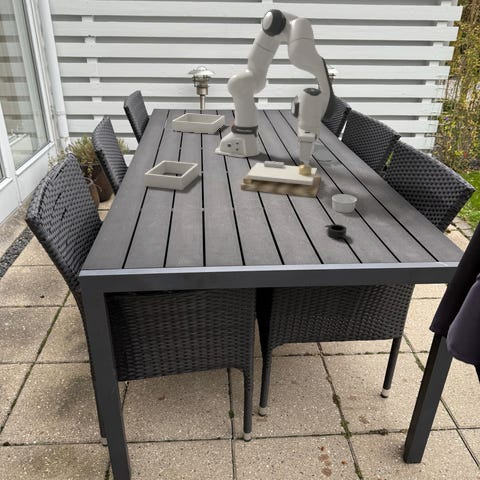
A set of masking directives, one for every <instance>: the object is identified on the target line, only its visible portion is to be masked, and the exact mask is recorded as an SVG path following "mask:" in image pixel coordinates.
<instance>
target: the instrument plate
mask: <svg viewBox="0 0 480 480" xmlns="http://www.w3.org/2000/svg"><path fill="white" fill-rule="evenodd" d="M253 166H254V167H253ZM253 166H252V167H253V168H252V167H251V168H252V170H251V169H250V170H251V171H250V170H249V171H250V172H249V171H248V172H249V173H248V172H247V173H248V175H247V174H246V175H247V179H255V180H265V181H275V182H285V183H295V184H305V185H312V184H313V181H314V178H315V175H317V172H318V168H317V167H312V166H311V165H310V164H309V166H308V167H307V168H306V167H304V164H300V165H299V166H296V165H286V164H285V162H283V161H282V162H281V161H271V160H270V161H269V160H265V161H264V162H256V163H255V164H254V165H253Z"/></svg>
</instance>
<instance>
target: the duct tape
mask: <svg viewBox="0 0 480 480" xmlns="http://www.w3.org/2000/svg"><path fill="white" fill-rule="evenodd" d="M323 228H324V229H326V230H327V233H326V234H327V237H328V238H330V239H332V240H344V239H345V240H351V238H350V237H348V236H346V235H347V227H346V226H344V225H342V224H337V223H335V224H334V223H333V224H330V225H329V224H327V225H324V226H323Z"/></svg>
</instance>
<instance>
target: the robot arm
mask: <svg viewBox="0 0 480 480" xmlns="http://www.w3.org/2000/svg"><path fill="white" fill-rule="evenodd" d="M282 42H285V43H286V44H287V54H288V60H289V62H290V63H291V64H292V65H293V67H295V68H296V69H298V70H301V71H304V72H307V73H310V74H311V75H313V76H314V77H315V78H316V79H317V83H318V85H319V86H318V87H319V88H315V87H306V88H304V89H303V90H302V91H301V94H297V95H295V97H293V98H292V99H291V106H290V107H291V108H290V109H291V110H290V113H291V115H292V116H293V117H294V118H295V119H296V120H299V121H298V123H297V126H298V127H297V141H298V145H299V146H298V157H299V161H300V162H303V165H304V167H306V168H307V167H308V166H309V165H310V159H311V157H312V155H313V153H314V150H315V143H316V142H317V140H318V139H320V137H321V130H322V129H321V128H322V121H327V122H328V121H330V120H332V119H333V118H334V117H335V116H336V115H337V114H338V111H339V105H338V99H337V98H336V95H335V92H334V88H333V85H332V82H331V77H330V74H329V70H328V67H327V63H326V61H325V58H324V57H323V56H321V55H320V54H319V52H318V51H317V49H316V42H315V35H314V30H313V27H312V24H311V22H310V21H309V19H307V18H305V17H299V16H298V15H296V14H294V13H289V12H286V11H281V10H280V9H276V8H275V9H274V8H273V9H269V10H268V11H267V12H266V13H265V14H264V15H263V17H262V22H261V28H260V30H259V31H258V33H257V35H256V36H255V38H254V41H253V43H252V45H251V47H250V49H249V51H248V53H247V65H246V69H245V70H244V71H243V72H238V73H236V74H234V75H233V76H231V77H230V78H228V81H227V91H228V93H229V94H230V95H231V97H232V100H233V104H234V115H235V116H234V123H232V124H231V126H230V132H229V133H227V134H226V135H225V136H223V138H221V140H220V142H219V146H218V147H216V148H215V151H214V153H215V154H216V155H221V156H227V155H228V157H235V158H246V157H254V156H258V155H259V154H260V149H259V140H258V136H259V124H258V123H259V122H258V119H259V118H258V117H259V110H258V109H259V108H258V107H257V105H256V102H255V97H254V96H255V95H257V94H259V93H260V92H262V91H263V90H265V88H266V85H267V75H268V71H269V68H270V65H271V64H272V61H273V59H274V57H275V55H276V54H277V51H278V49H279V47H280V45H281V44H282Z"/></svg>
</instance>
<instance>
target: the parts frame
mask: <svg viewBox="0 0 480 480" xmlns="http://www.w3.org/2000/svg"><path fill="white" fill-rule="evenodd" d="M199 169H200V168H199V163H193V162H192V163H191V162H183V161H173V160H172V161H171V160H162V161H161V162H160V163H158V164H156V165H154V167H152V168H151V169H149V170H148V171H147V172H145V173H144V174H143V176H144V177H143V178H144V187H150V188H151V187H153V188H161V189H171V190H177V191H183V190H184V189H185V188H186V187H187V186H189V184H191V183H192V181H194V180H195V179H196V178H197V177H198V176H199V173H200V172H199ZM166 173H169V174H175V175H176V174H179V175H181V176H175V175H166ZM164 174H165V175H164Z"/></svg>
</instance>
